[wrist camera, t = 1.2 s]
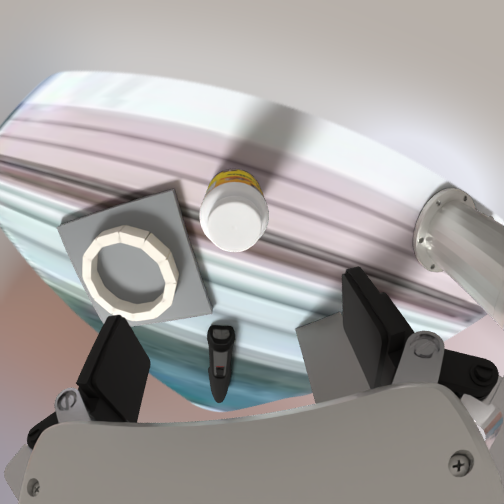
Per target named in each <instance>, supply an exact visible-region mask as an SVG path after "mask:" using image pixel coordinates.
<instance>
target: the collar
mask: <svg viewBox="0 0 504 504" xmlns="http://www.w3.org/2000/svg"><path fill="white" fill-rule="evenodd" d="M57 229H58V232H59V234H60V237H61V239H62V242H63V244H64V246H65V249H66V251H67V253H68V256H69V258H70V260H71V262H72V264H73V267H74V269H75V271H76V273H77V275H78V277H79V279H80V281H81V283H82V285H83V287H84V289H85V291H86V293H87V295H88V297H89V299H90V301H91V302H92V304H93V306H94V308H95V310H96V312H97V313H98V315H99V317H100V319H101V320H102V322H103V324H104V323H105V321H106V319H107V317H108V316H112V315H121V316H122V317H125V318H126V320H127V322H128V323H129V325H130V326H138V325H145V324H152V323H159V322H165V321H172V320H178V319H184V318H191V317H197V316H202V315H208V314H212V310H213V309H212V306H211V303H210V300H209V297H208V294H207V291H206V289H205V286H204V283H203V280H202V277H201V274H200V271H199V268H198V265H197V262H196V258H195V255H194V252H193V249H192V246H191V243H190V240H189V236H188V233H187V230H186V227H185V223H184V220H183V217H182V213H181V210H180V206H179V203H178V200H177V196H176V193H175V189H170V190H167V191H163V192H160V193H156V194H152V195H149V196H145V197H142V198H139V199H135V200H132V201H129V202H125V203H122V204H119V205H116V206H113V207H110V208H107V209H104V210H101V211H98V212H95V213H92V214H89V215H86V216H83V217H80V218H77V219H75V220H72V221H69V222H66V223H64V224H61V225H59V226H58V227H57Z"/></svg>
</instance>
